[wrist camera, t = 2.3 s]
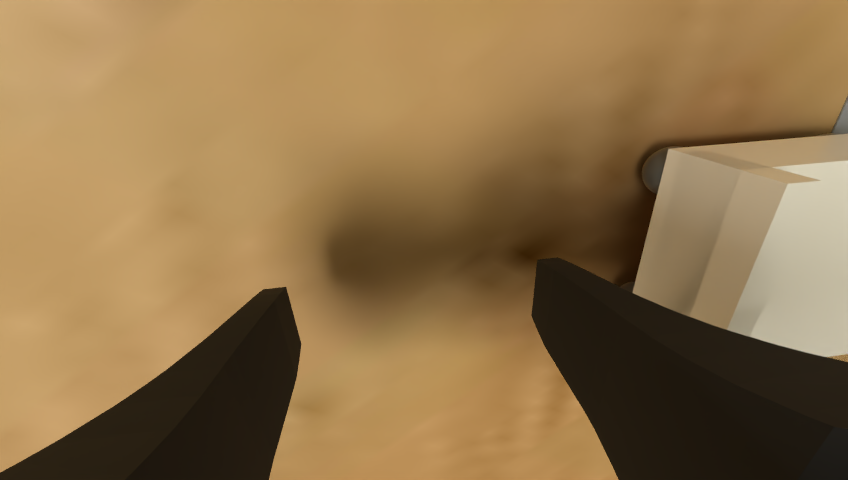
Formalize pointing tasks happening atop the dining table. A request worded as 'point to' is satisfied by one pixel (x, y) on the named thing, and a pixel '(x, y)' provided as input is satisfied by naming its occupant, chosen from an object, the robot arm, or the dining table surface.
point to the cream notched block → (752, 239)
